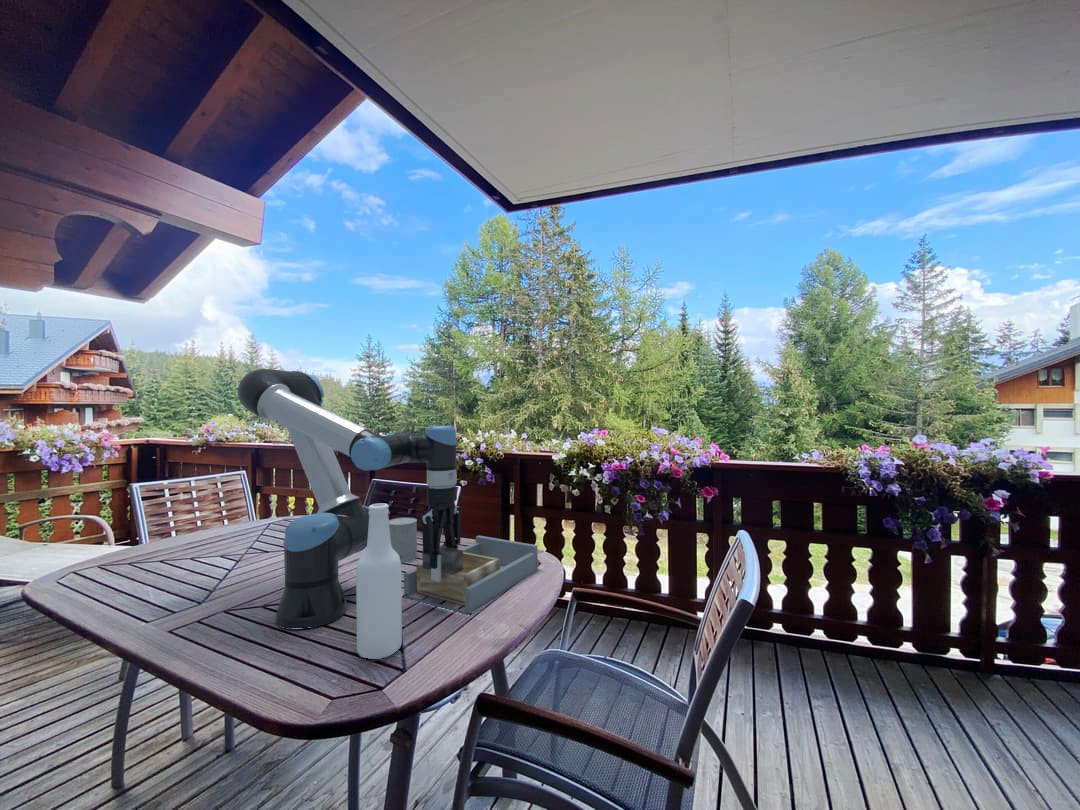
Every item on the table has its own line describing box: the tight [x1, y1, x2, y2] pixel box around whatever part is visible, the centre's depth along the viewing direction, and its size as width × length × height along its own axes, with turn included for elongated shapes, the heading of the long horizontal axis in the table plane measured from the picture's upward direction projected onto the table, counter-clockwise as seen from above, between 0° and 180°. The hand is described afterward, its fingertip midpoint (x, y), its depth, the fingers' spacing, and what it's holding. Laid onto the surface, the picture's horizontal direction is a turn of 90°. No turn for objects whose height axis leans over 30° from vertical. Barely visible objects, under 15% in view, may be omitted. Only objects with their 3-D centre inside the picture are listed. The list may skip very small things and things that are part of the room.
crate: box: [416, 545, 501, 606], centre depth 122 cm, size 15×17×12 cm
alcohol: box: [355, 502, 403, 659], centre depth 95 cm, size 9×9×30 cm
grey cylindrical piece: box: [389, 517, 418, 563], centre depth 153 cm, size 10×10×12 cm
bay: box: [403, 535, 539, 617], centre depth 129 cm, size 32×22×8 cm
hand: (442, 577), depth 117 cm, fingers closed on crate, 4 cm apart
